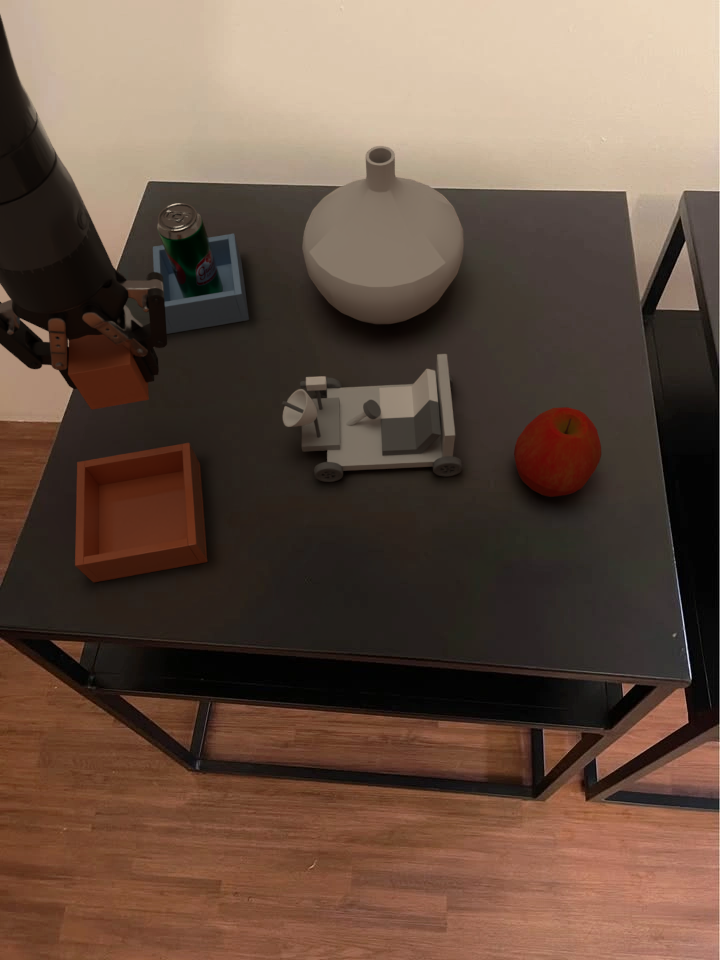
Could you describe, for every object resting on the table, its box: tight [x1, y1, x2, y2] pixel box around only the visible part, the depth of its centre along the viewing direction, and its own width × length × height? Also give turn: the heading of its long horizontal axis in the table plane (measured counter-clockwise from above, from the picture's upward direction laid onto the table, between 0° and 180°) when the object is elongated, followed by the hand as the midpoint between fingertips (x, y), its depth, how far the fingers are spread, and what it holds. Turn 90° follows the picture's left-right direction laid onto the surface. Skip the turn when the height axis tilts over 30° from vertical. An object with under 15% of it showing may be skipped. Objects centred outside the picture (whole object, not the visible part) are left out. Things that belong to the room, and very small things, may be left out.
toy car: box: [281, 353, 463, 483], centre depth 74 cm, size 18×10×12 cm
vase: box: [301, 145, 465, 325], centre depth 80 cm, size 18×18×19 cm
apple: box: [513, 406, 602, 498], centre depth 70 cm, size 8×8×11 cm
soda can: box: [156, 202, 223, 298], centre depth 84 cm, size 5×5×12 cm
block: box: [68, 334, 150, 410], centre depth 61 cm, size 5×5×5 cm
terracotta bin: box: [74, 442, 208, 583], centre depth 73 cm, size 12×12×5 cm
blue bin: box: [152, 233, 250, 335], centre depth 88 cm, size 10×10×5 cm
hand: (117, 379), depth 63 cm, fingers closed on block, 5 cm apart
